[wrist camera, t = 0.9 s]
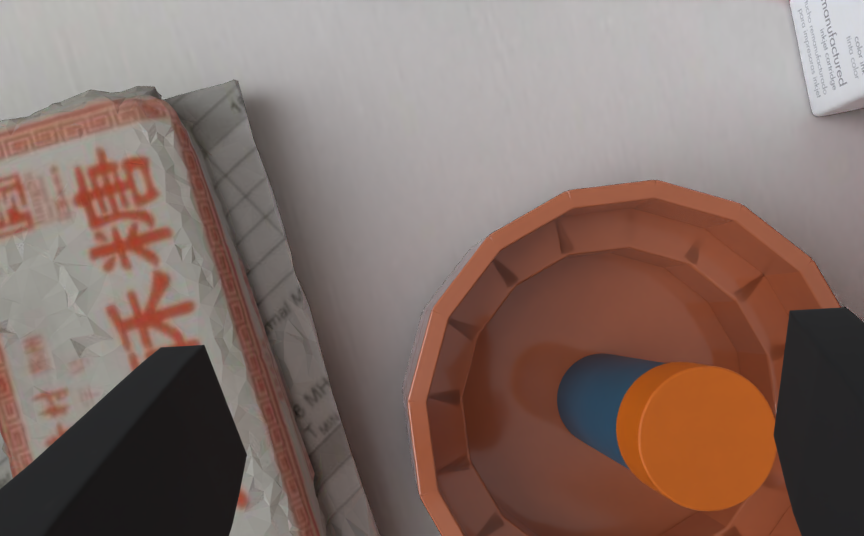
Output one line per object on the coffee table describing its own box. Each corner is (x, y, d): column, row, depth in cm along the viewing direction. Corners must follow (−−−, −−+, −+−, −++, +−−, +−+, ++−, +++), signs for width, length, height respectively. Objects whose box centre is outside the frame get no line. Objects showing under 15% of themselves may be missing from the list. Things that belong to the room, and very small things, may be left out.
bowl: (810, 562, 25) (903, 615, 21) (432, 623, 25) (444, 691, 20) (753, 185, 26) (832, 157, 22) (381, 230, 25) (382, 212, 21)
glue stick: (656, 441, 25) (789, 500, 17) (560, 455, 25) (649, 522, 17) (642, 344, 25) (767, 356, 17) (547, 356, 25) (627, 375, 17)
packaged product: (-195, 145, 19) (211, 32, 20) (-82, 179, 24) (242, 87, 25) (18, 884, 19) (428, 734, 20) (91, 768, 24) (418, 652, 24)
